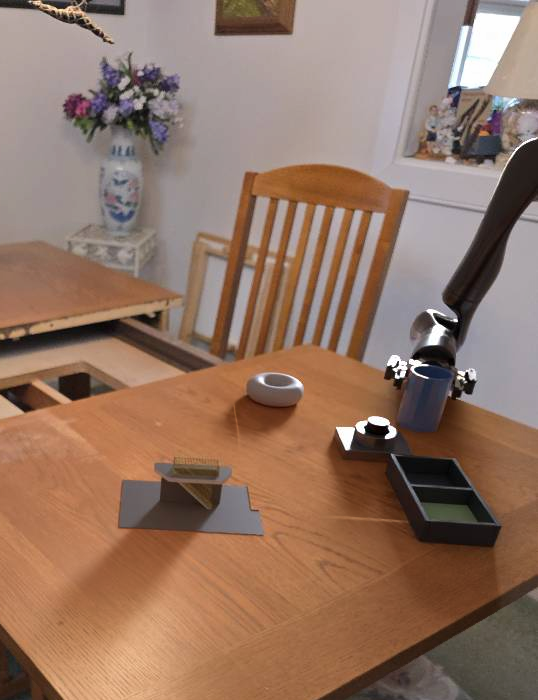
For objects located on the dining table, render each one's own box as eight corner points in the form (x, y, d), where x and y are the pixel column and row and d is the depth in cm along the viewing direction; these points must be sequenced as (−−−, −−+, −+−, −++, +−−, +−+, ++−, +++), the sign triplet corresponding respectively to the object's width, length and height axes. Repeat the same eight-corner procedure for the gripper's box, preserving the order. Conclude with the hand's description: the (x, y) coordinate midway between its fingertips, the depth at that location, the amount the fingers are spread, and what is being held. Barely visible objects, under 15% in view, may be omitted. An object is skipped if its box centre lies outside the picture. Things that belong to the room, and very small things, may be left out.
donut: (249, 384, 128) (240, 404, 120) (252, 366, 126) (242, 385, 118) (304, 393, 126) (299, 413, 118) (308, 374, 124) (302, 394, 116)
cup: (431, 417, 119) (446, 366, 114) (443, 434, 114) (459, 381, 109) (391, 414, 120) (405, 363, 114) (402, 431, 114) (417, 378, 109)
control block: (397, 440, 111) (403, 420, 109) (410, 464, 104) (417, 443, 102) (333, 436, 111) (338, 416, 109) (343, 460, 105) (348, 439, 103)
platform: (264, 534, 87) (272, 488, 83) (119, 526, 87) (120, 480, 83) (253, 486, 97) (260, 443, 93) (122, 479, 97) (124, 436, 93)
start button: (384, 427, 107) (386, 417, 106) (389, 437, 105) (392, 426, 104) (363, 426, 107) (365, 415, 106) (367, 435, 105) (370, 424, 104)
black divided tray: (448, 477, 102) (455, 457, 100) (493, 547, 87) (502, 526, 85) (384, 472, 102) (390, 453, 100) (418, 541, 87) (425, 520, 86)
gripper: (397, 331, 126) (387, 359, 114) (482, 344, 122) (481, 375, 109) (387, 371, 130) (376, 402, 118) (468, 386, 126) (466, 419, 114)
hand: (427, 389), depth 114 cm, fingers open, 8 cm apart
